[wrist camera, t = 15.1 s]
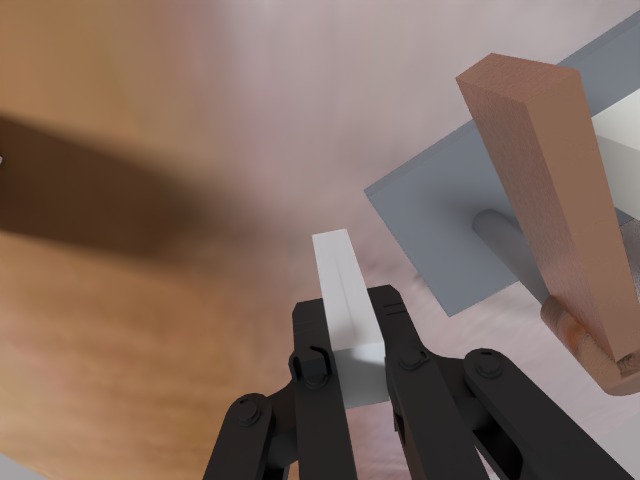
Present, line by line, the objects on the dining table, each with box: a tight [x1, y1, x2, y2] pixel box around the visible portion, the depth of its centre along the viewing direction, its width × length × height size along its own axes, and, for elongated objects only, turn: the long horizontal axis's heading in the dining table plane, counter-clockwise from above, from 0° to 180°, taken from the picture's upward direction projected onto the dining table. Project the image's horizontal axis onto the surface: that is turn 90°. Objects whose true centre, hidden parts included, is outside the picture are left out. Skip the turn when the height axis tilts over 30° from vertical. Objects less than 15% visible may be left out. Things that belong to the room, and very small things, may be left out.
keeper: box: [455, 53, 640, 396], centre depth 17 cm, size 18×4×5 cm, turn 35°
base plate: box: [364, 11, 640, 317], centre depth 27 cm, size 26×16×12 cm, turn 125°
